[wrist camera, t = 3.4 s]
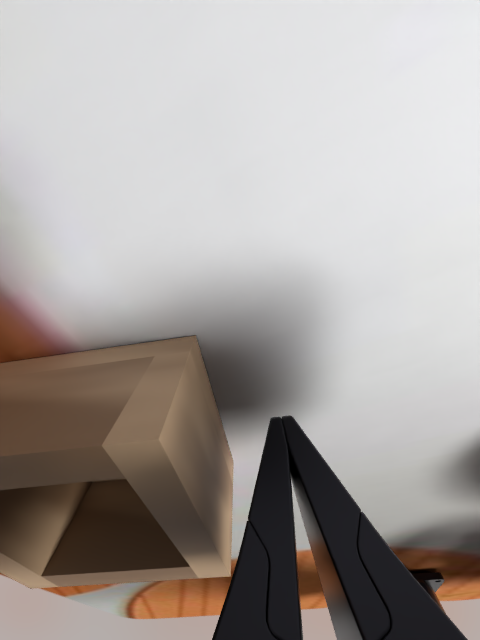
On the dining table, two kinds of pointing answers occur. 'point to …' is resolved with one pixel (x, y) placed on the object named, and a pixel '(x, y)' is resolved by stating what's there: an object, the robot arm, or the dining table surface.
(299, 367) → the dining table surface
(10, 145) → the dining table surface
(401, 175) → the dining table surface
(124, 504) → the socket block
